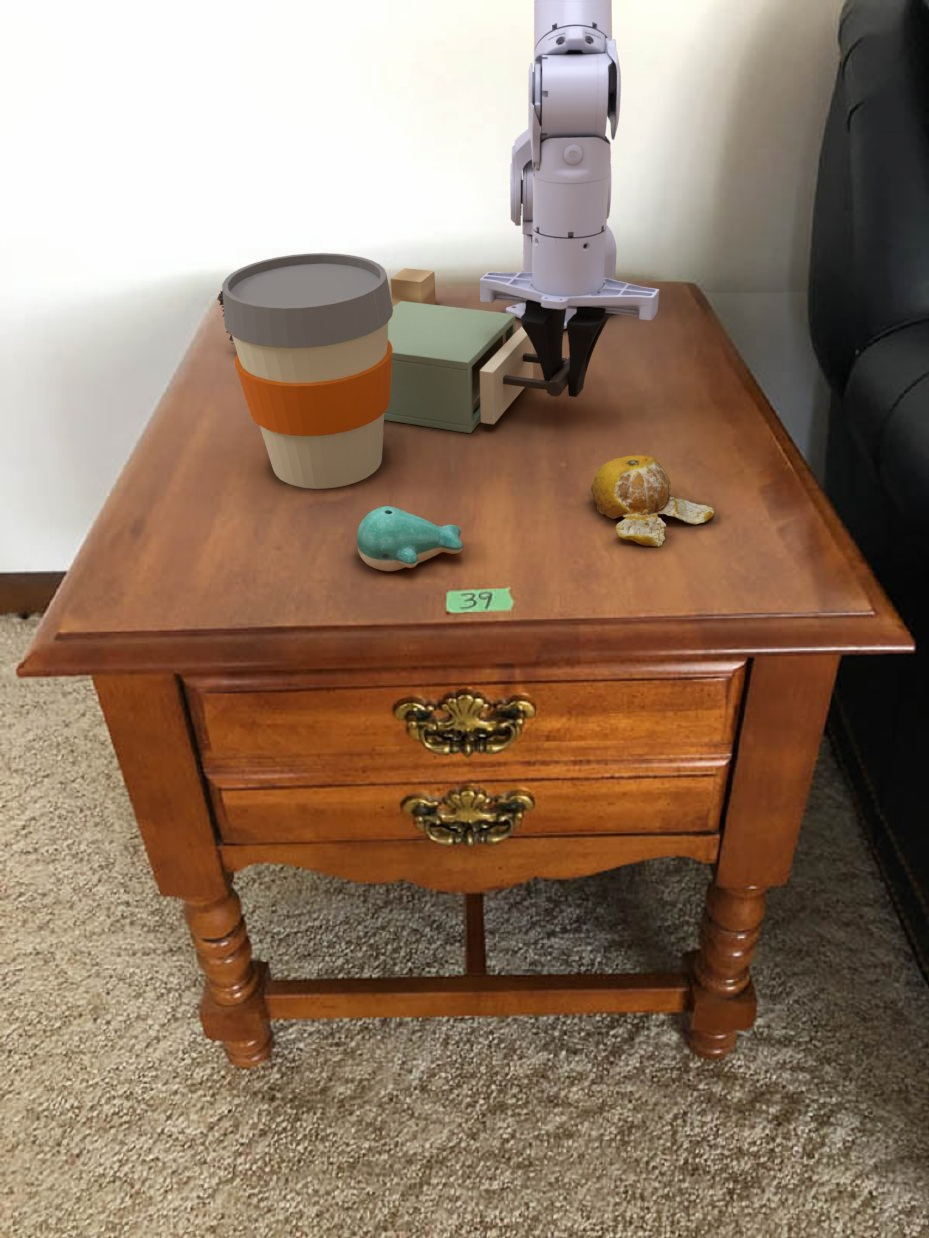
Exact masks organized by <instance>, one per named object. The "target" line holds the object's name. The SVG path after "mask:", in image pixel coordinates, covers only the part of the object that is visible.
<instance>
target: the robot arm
mask: <svg viewBox="0 0 929 1238" xmlns="http://www.w3.org/2000/svg"><path fill="white" fill-rule="evenodd" d="M612 3H613V2H612V0H533V63H532V62H531V63H530V64H529V68H528V83H527V84H528V85H527V86H528V89H527V90H528V91H527V92H528V95H527V98H528V99H527V100H528V103H527V107H528V108H527V111H528V113H527V114H528V115H527V116H528V117H527V125H528V126H527V127H528V128H527V129H526V130H525V131H524V132H522V133H521V134H520V135H519V136H517V137H516V138H515V140H514V145H512V147H511V163H510V178H509V179H510V182H509V184H510V188H509V190H510V194H509V195H510V196H509V197H510V201H509V202H510V204H509V205H510V221H511V222H512V223H513V224H514V225H515V226H516V227H521V226H522V229H521V230H522V235H523V236H522V272H517V271H516V272H501V271H500V272H499V271H487V272H486V273H485V274H484V275H482V276H481V278H479V295H480V296H479V301H480V302H481V303H488V304H489V303H491V304H492V303H494V302H495V301H496V302H497V301H499V302H505V303H507V302H508V303H515V304H513V305H511V306H507V307H505V313H509V314H515V315H516V318H518V319H519V320H520V323H521V327H523V329H524V330H525V332H526V334H527V335H528V337H529V339H530V341H531V343H532V345H533V350H534V352H535V354H537V356H538V359H539V362H540V364H539V365H540V368H541V372H542V377H543V380H545V381H550V380H551V379H552V378H553V376H554V375H555V374H556V373H557V371H558V370H559V369H560V368H561V366H562V358H563V342H564V331H565V330H566V331H567V332H566V333H567V341H568V352H569V356H570V366H569V379H568V385H567V393H568V395H567V396H568V397H570V398H571V397H572V398H577V397H578V396H579V395H580V393H581V392H582V391H583V389H584V386H585V379H586V376H587V371H588V367H589V365H590V361H591V358H592V355H593V353H594V350H595V347H596V345H597V343H598V341H599V338H600V336H601V334H602V332H603V330H604V329H605V326H606V324H607V323H608V321H609V319H610V317H611V315H612V314H615V315H623V316H632V317H638V319H639V320H641V321H647V322H651V321H653V320H654V318H655V317H656V315H657V314H658V309H659V299H660V297H659V296H660V289H659V288H653V287H647V286H646V287H645V286H641V285H636V284H633V283H629V282H624V281H620V280H617V279H616V271H617V255H618V254H617V252H618V251H617V250H618V249H617V244H616V243H617V242H616V239H615V236H614V233H613V231H612V229H611V228H610V226H609V225H608V224H607V222H608V219H609V217H610V212H611V201H612V163H611V162H612V161H611V160H612V159H611V158H612V151H611V150H612V149H611V141H610V140H609V138H608V137H607V135H606V132H607V125H608V123H607V122H608V120H609V124H610V138H611V140H612V141H614V140H615V138H616V134H617V131H618V126H619V123H620V122H619V120H620V112H621V94H622V93H621V92H622V79H621V78H622V75H621V73H622V72H621V66H620V62H619V55H618V51H617V40H616V39H615V38H613V9H612V7H613V6H612V5H613V4H612ZM521 221H522V222H521ZM545 392H546V394H549V393H548V392H547V390H545Z"/></svg>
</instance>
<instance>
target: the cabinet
mask: <svg viewBox="0 0 929 1238" xmlns="http://www.w3.org/2000/svg"><path fill="white" fill-rule="evenodd" d="M392 307H393V306H392ZM516 318H517V317H516V315H515V314H509V313H506V312H499V311H492V310H491V311H490V310H482V309H475V308H464V307H457V306H448V305H447V306H446V305H441V304H440V305H438V304H435V305H431V304H422V303H413V302H405V301H400V302H399V303H398V304H396V305H395V306H394V307H393V314H392V317H391V318H390V320H389V322H388V340H389V341H390V342H391V345H392V348H393V351H392V370H391V390H390V403H389V407H388V408H387V410H386V412H385V413H384V421H389V422H394V423H402V424H408V425H415V426H421V427H427V428H433V429H440V430H446V431H453V432H459V433H466V434H471V433H472V432H473V431H474V430H475V429H476V427H477V426H479V424H480V423H481V410H480V404H479V405H478V406H477V407H476V408H475V409H474V411H473V409H472V374H471V367H472V366H473V365H474V364H475V363H476V362H477V361H478V360H479V359H480V358H481V357H482V355H483V354H484V353H485V352H486V351H487V350H488V349H489V348H490V347H491V346H492V345H493V344H494V343H495V342H496V341H497V340H498V339H499V338H500V337H501V336H502V335H503V334H504V333H505V332H506V342H507V341H508V340H509V339H510V338H511V337H512V336H513V335H514V334H515V333H516V332H517V330H516V329H517V327H516V325H517V324H516V322H517V321H516V320H517V319H516Z"/></svg>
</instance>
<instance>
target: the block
mask: <svg viewBox="0 0 929 1238" xmlns="http://www.w3.org/2000/svg"><path fill="white" fill-rule="evenodd" d="M390 289H391V290H390V293H391V301H392V307H394V306H395V305H396V304H398V303H399V302H400V301H405V302H413V303H422V304H431V305H437V299H436V298H437V297H436V296H437V295H436V275H435V271H434V270H425V269H418V268H417V269H416V268H408V267H407V268H406V267H404V268H403V269H401V270H399V272H397V273H396V274H395V275H393V276H392V277H390Z"/></svg>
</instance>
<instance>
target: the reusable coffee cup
mask: <svg viewBox="0 0 929 1238" xmlns="http://www.w3.org/2000/svg"><path fill="white" fill-rule="evenodd" d="M221 287H222V288H221V289H222V290H221V291H223V305H222V306H224V308H223V309H224V312H223V314H224V317H223V321H224V328H225V330H226V331H228V333H227V334H229V333H230V334H231V335H232V337H233V341H232V342H233V343H234V344H235V346H234V348H235V347H236V348H235V350H236V356H235V358H234V366H235V368H236V372H237V376H238V379H239V382H240V386H241V388H242V392H243V396H244V398H245V401H246V404H247V407H248V410H249V414H250V416H251V419H252V420H253V421H254V423H256V424H257V425H258V426H259V429H260V432H261V434H262V438H263V441H264V445H265V448H266V452H267V455H268V458H269V460H270V464H271V467H272V471H273V472H274V474H275V476H276V477H277V478H278V479H279V480H280V481H282V482H284V483H285V484H288V485H291V486H293V487H298V488H302V489H313V490H321V489H323V490H324V489H334V488H340V487H345V486H349V485H352V484H355V483H358V482H360V481H362V480H366V479H367V478H368V477H370V476H371V475H373V474H374V473H375V472H376V471H377V470H378V469H379V468H380V466H381V464H382V461H383V449H384V448H383V447H384V446H383V445H384V427H385V420H384V413H385V412H386V410H387V408H388V407H389V403H390V390H391V370H392V351H393V348H392V345H391V342H390V341H389V340H388V322H389V320H390V318H391V317H392V314H393V305H392V295H391V290H390V285H389V281H388V275H387V272H386V270H385V268H384V267H383V266H382V265H381V264H380V263H378V262H376V261H374V260H371V259H369V258H366V257H362V256H357V255H352V254H343V253H328V252H317V253H315V252H314V253H312V252H311V253H299V254H290V255H284V256H277V257H272V258H268V259H267V258H266V259H264V260H260V261H257V262H254V263H251V264H248V265H245V266H243V267H240V268H239V269H237V270H235V271H233V272H232V273H230V274H229V275H228V276H227V277H226V278H225V279H224V280H223V282H222V285H221ZM230 334H229V335H230ZM231 335H230V336H231Z"/></svg>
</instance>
